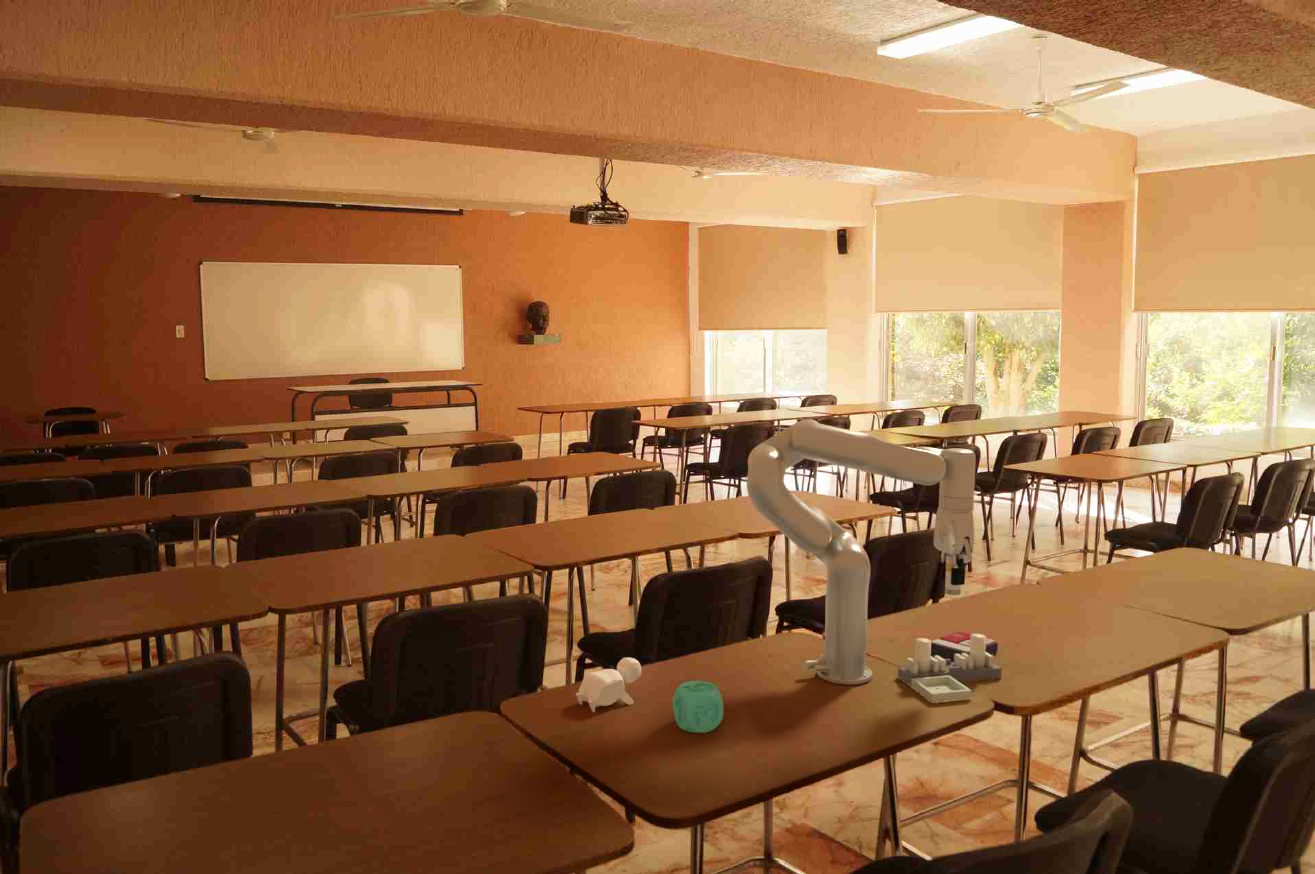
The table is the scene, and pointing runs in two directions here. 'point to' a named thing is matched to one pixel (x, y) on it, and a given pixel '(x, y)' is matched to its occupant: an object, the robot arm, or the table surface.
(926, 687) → the tray
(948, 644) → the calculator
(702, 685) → the decorative dice
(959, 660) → the holder
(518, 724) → the table surface
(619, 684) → the white animal figurine
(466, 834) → the table surface
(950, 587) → the fuse
